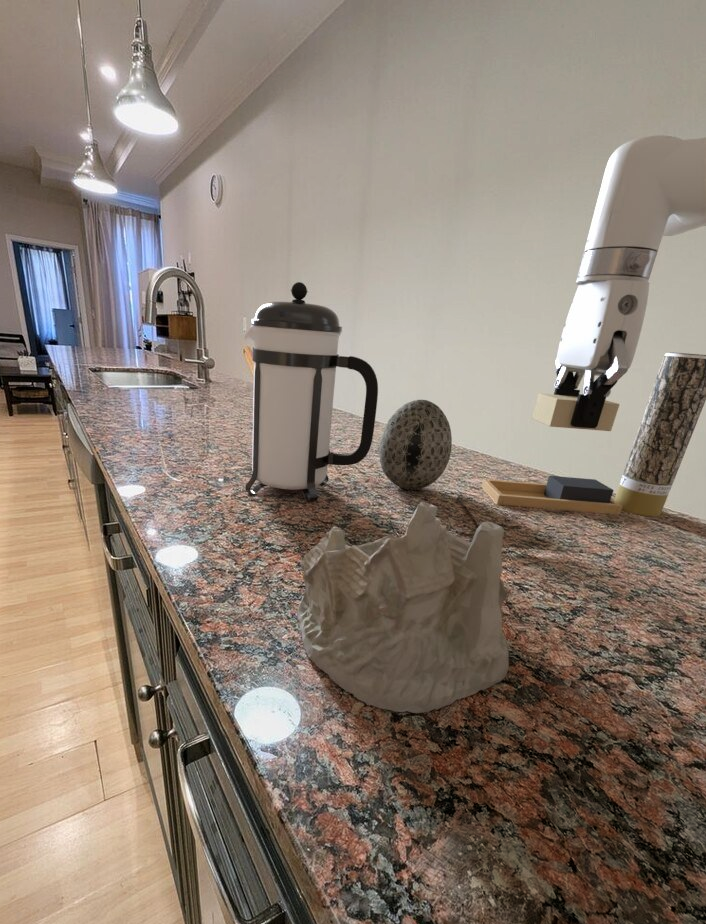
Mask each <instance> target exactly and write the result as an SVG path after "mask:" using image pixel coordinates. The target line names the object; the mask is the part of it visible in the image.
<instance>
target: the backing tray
mask: <svg viewBox="0 0 706 924" xmlns="http://www.w3.org/2000/svg"><path fill="white" fill-rule="evenodd" d="M546 485H547V483H536V482H526V481H525V482H524V481H512V480H502V479H500V480H499V479H492V478H491V479H488V478H483V479H482V483H481V488H482V490H483V491H484V492H485V493H486V494H487V495H488V496H489V498H491V499H492V501H493V502H494V504H496V505H498V506H510V507H523V508H535V509H545V510H546V509H547V510H556V511H557V510H558V511H569V512H570V511H571V512H582V513H593V514H605V515H619V516H620V515H621V512H622V510H621V509H622V507H623V506H622V505H620V504H619V503H617V502H616V501H614V499H612V498H611V500H610V502H609V503H600V502H588V501H576V500H564V499H552V498H547V497H546V496H545V495H544V492H545V488H546Z"/></svg>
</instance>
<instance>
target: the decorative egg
mask: <svg viewBox="0 0 706 924" xmlns="http://www.w3.org/2000/svg"><path fill="white" fill-rule="evenodd" d="M452 445H453V438H452V430H451V425H450V422H449V420H448V418H447V416H446V415H445V413H444V411H443V410H442V409H441V408H440V407H439V406H438V405H437V404H436V403H434V402H432V401H430V400H427V399H415V400H412V401H409V402H407V403H405V404H403V405H401V407H399V408H398V409H397V410H395V412H393V414H392V415H391V416H390V418H389V419H388V421H387V423H386V425H385V427H384V429H383V432H382V435H381V437H380V442H379V447H378V456H379V463H380V467H381V470H382V472H383V473H384V475H385V477H386V478H387V479H388V480H389V481H390V482H391V483H392V484H394V485H395V486H397V487H399V488H401V489H404V490H411V491H413V490H421V489H425V488H426V487H429V486H431V485H432V484H433V483H435V482H437V480H438V479H439V478H440V477H441V476H442V475H443V474H444V472H445V470H446V468H447V466H448V464H449V461H450V458H451V454H452Z"/></svg>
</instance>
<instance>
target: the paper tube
mask: <svg viewBox="0 0 706 924" xmlns="http://www.w3.org/2000/svg"><path fill="white" fill-rule="evenodd" d="M705 403H706V354H697V353H683V352H670V351H668V352H665V354H664V355H663V357H662V359H661V363H660V365H659V369H658V372H657V375H656V377H655V381H654V383H653V386H652V389H651V391H650V395H649V398H648V401H647V404H646V407H645V409H644V412H643V415H642V418H641V421H640V424H639V427H638V429H637V433H636V435H635V438H634V441H633V444H632V446H631V450H630V453H629V456H628V459H627V462H626V464H625V466H624V470H623V473H622V476H621V478H620V481H619V484H618V488H617V490H616V493H615V496H614V499H613V500H614V501H616V502H617V503H619V504H620V505H622V506H623V507H622V509H621V511H624V512H626V513H630V514H634V515H637V516H643V517H651V518H652V517H654V518H655V517H659V516H661V514H662V511H663V509H664V506H665V504H666V501H667V500H668V497H669V494H670V492H671V489H672V487H673V484H674V482H675V480H676V476H677V474H678V471H679V469H680V466H681V464H682V461H683V459H684V456H685V454H686V451H687V449H688V446H689V444H690V441H691V439H692V436H693V434H694V431H695V430H696V429H695V428H696V426H697V424H698V420H699V419H700V415H701V413H702V411H703V409H704V406H705Z"/></svg>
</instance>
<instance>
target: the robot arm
mask: <svg viewBox="0 0 706 924" xmlns="http://www.w3.org/2000/svg"><path fill="white" fill-rule="evenodd" d="M702 227H706V137H700V138H689V139H682V138H680V137H677V136H672V135H665V134H663V135H662V134H661V135H648V136H642V137H639V138H635V139H632V140H629V141H626V142H624V143H623V144H621V145H620V146H618V147H617V148H616V149H615V150H614V151H613V152H612V154H611V155H610V156H609V158H608V161H607V163H606V166H605V169H604V172H603V176H602V181H601V185H600V189H599V192H598V197H597V200H596V204H595V208H594V211H593V216H592V219H591V223H590V227H589V231H588V235H587V239H586V242H585V246H584V250H583V254H582V258H581V263H580V265H579V269H578V273H577V277H576V280H575V284H576V285H577V288H576V290H575V295H574V297H573V299H572V303H571V305H570V307H569V310H568V313H567V317H566V319H565V323H564V326H563V330H562V333H561V336H560V340H559V344H558V348H557V354H556V359H555V367H556V371H555V373H556V379H555V382H554V392H553V395H565V396H577V397H578V399H577V402H576V406H575V409H574V413H573V416H572V420H571V426H574V427H583V428H596V427H597V426H598V422H599V419H600V416H601V413H602V409H603V406H604V403H605V400H606V401H607V397H610V395H611V393H612V389H613V387H614V386H615V385H616V384H617V383H618V381H619V380H620V379H621V378H622V377H623V376H624V375H625V374H627V373H628V370H629V369H630V368H631V367H632V364H633V362H634V358H635V354H636V352H637V347H638V344H639V341H640V336H641V332H642V329H643V326H644V325H643V324H644V320H645V316H646V311H647V306H648V300H649V292H650V282H649V281H650V277H651V273H652V272H653V269H654V264H655V262H656V258H657V255H658V252H659V249H660V246H661V242H662V239H663V237H672V236H677V235H681V234H684V233H687V232H689V231H693V230H696V229H698V228H702ZM595 377H597V378H596V379H595ZM583 378H584V379H583ZM582 379H583V389H582V393H581V390H580V389H578V388H579V386H580V384H581V381H582Z"/></svg>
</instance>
